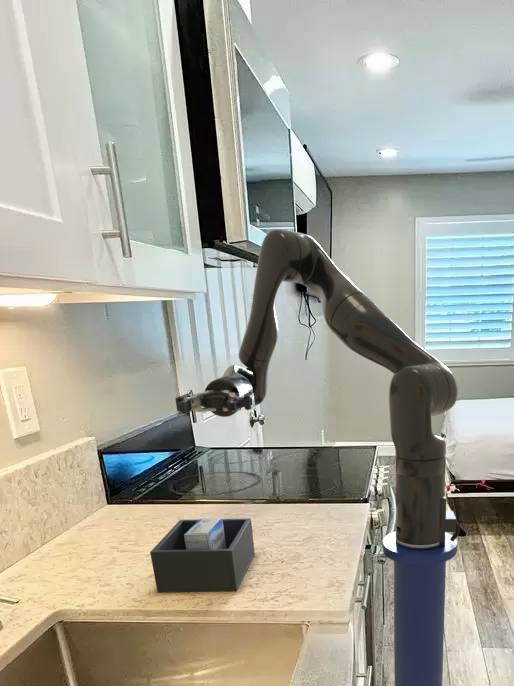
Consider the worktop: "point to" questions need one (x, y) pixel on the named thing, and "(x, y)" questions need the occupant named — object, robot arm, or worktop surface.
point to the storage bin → (203, 560)
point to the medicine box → (206, 535)
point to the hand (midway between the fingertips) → (206, 407)
